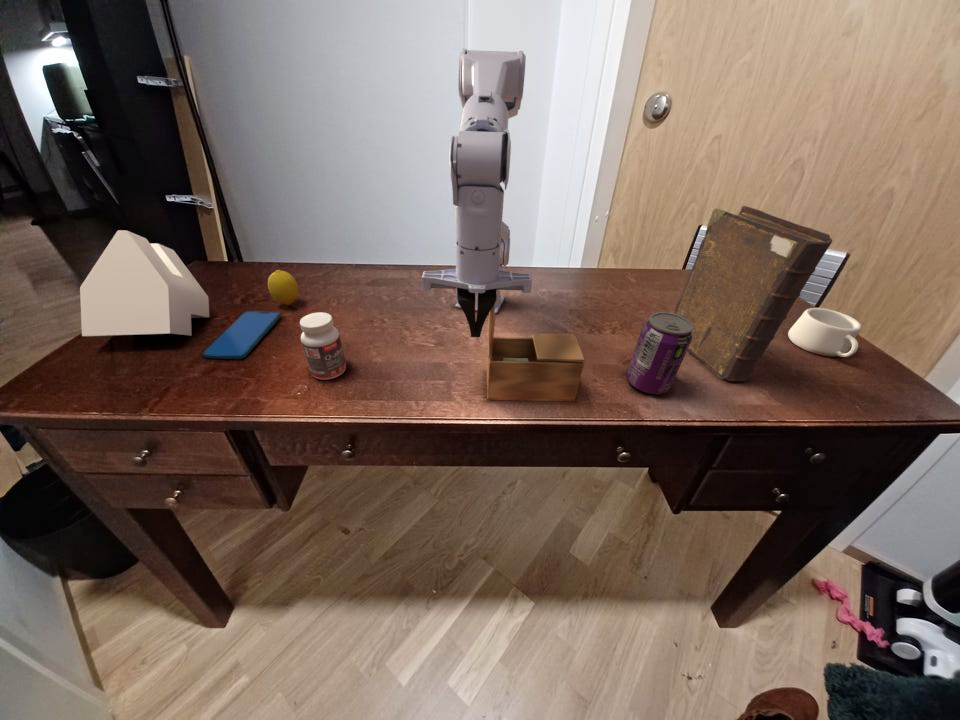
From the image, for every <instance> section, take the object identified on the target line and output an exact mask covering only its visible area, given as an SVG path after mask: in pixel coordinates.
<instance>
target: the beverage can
mask: <svg viewBox="0 0 960 720" xmlns="http://www.w3.org/2000/svg"><path fill="white" fill-rule="evenodd" d="M692 330H693V324H692V323H691V322H690V321H689V320H687V319H686V318H684V317H682V316H679V315H677V314H674V313H673V312H669V311H668V312H667V311H657V312H653V313H651V314H650V315H649V316H648V319H647V321H646V322H644V323H643V325H642V327H641V330H640V332H639V335H638V338H637V341H636V344H635V346H634V347H635V348H634V350H633V353H632V356H631V358H630V362H629V364H628V367H627V371H626V374H625V376H626V380H627V381H628V383H629V384H630V385H631V386H633V387H634V388H636V389H638V390H639V391H641V392H644V393H646V394H647V393H648V394H652V395H654V394H655V395H661V394H665V393H667V392H669V391H670V390H671V388H672V386H673V383H674V382H675V378H676V376H677V374H678V372H679V370H680V367H681V365H682V363H683V361H684V358H685V356H686V355H687V352H688V351H687V350H688V347H689V345H690V343H691V341H692V333H691V332H692Z"/></svg>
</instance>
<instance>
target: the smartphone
mask: <svg viewBox="0 0 960 720" xmlns="http://www.w3.org/2000/svg"><path fill="white" fill-rule="evenodd" d="M281 316H282V315H281V314H280V312H278V311H259V310H257V311H256V310H248V311H245V312H243V313H242V314H241V315H240V316H239V317H238V318H237V319H235V321H234V322H233V323H232V324H231V325H230V326H228V328H226V329H225V330H224V331H223V332H222V333H221V334H220V335H219V336H218V337H217V338H216V339H215V340H214V341H213V342H212V343H211V344H209V346H208V347H206V349H205V350H203V352H202V356H203V357H204V358H205V359H219V360H220V359H221V360H223V359H224V360H241V359H242V360H243V359H244V358H246V357H247V356H248V355H249V354H250V353H251V351H253V349H254V348H255V347H256V346H257V344H258V343H260V341H261V340H262V339H263V338H264V337H265V335H267V333H269V331H270V329H272V327H273V326H274V325H275V324H276V323H277V322H278V321H279V320H280V318H281Z"/></svg>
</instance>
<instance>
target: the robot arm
mask: <svg viewBox="0 0 960 720" xmlns="http://www.w3.org/2000/svg"><path fill="white" fill-rule="evenodd" d="M526 58H527V57H526V55H525V53H524V51H523V50H518V51H502V50H501V51H500V50H476V49H475V50H473V49H471V50H470V49H467V48H462V49H461V51H460V52H459V54H458V59H457V89H458V91H457V92H458V96H459V98H460V99H459V100H460V103H461V107H462V108H463V109H462V114H461V122H460V126H459V131H458V136H455V135H452V136H451V138H450V143H449V155H448V156H449V157H448V159H449V160H448V163H449V177H450V181H451V188H452V189H451V190H452V205H453V206H454V207H455V208H454V216H455V217H454V219H455V223H454V224H455V225H454V227H455V268H449V269H440V270H424V271H423V272H422V275H421V280H422V281H421V282H422V291H431V290H432V289H443V290H445V289H447V290H449V289H450V290H455V297H456V298H455V299H456V300H455V301H456V303H455V307H456V308H459V309H461V310H462V312H463V314H464V316H465V318H466V321H467V324H468V328H469V331H470V337H471V338H481V335H482V331H483V327H484V324H485V321H486V319H487V317H489V312H490V310H491V309H492V307H493V306H494V308H495V315H496V314H497V313H498V311H499V310H500V308H501V306H502V304H503V303H504V300H505V296H503V295H501V291H521V293H523V294H530V293H532V285H533V278H532V275H531V273H521V272H514V271H509V270H503V267H507V265H509V261H510V248H511V230H510V227H509V225H508V224H507V223H506V222H504V221H503V215H504V214H503V213H504V197H505V191H507V187H508V184H509V178H510V166H511V153H512V141H511V135H510V130H509V119H511V118H515V117H516V116H518V115H519V111H520V109H521V104H522V100H523V97H524V87H525V76H526V75H525V74H526V61H527V60H526ZM501 183H503V185H504V188H503V187H502V184H501ZM476 312H477V313H476Z"/></svg>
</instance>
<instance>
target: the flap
mask: <svg viewBox="0 0 960 720" xmlns="http://www.w3.org/2000/svg"><path fill="white" fill-rule="evenodd" d="M487 322H488V323H487V331H486V332H487V333H486V334H487V335H486V337H487V354H488V358H491V355H492V345H493V337H494V334H495V325H496V314H495V308H494V306H493V307H492V309H491V310H490V312H489V314H488V321H487Z"/></svg>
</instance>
